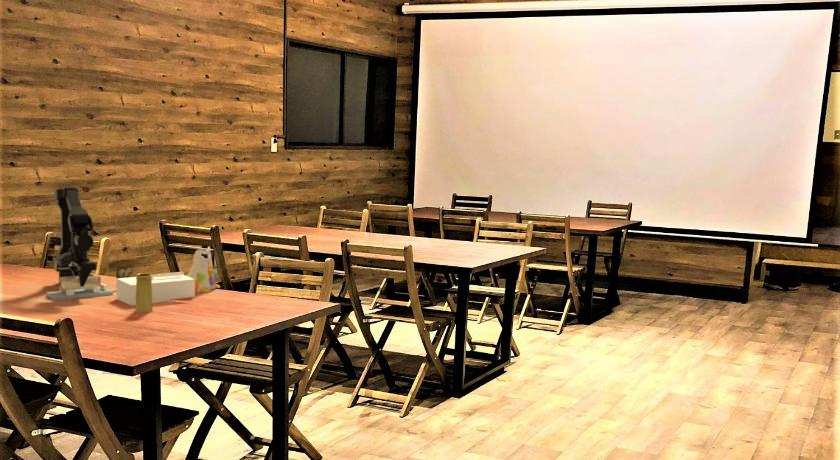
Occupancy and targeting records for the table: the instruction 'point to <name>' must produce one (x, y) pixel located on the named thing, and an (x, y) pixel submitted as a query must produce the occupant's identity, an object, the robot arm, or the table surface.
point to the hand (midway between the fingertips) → (79, 285)
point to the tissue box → (158, 288)
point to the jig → (80, 293)
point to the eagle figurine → (122, 272)
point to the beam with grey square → (74, 282)
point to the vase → (143, 293)
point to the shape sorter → (203, 272)
